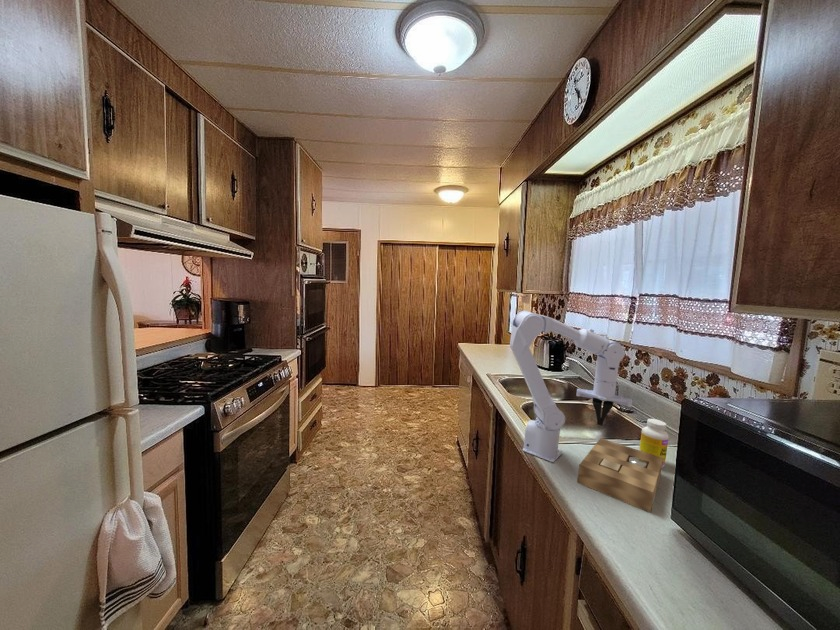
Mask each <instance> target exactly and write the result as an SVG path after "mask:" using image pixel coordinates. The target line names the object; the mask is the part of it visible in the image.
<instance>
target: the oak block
mask: <svg viewBox="0 0 840 630" xmlns="http://www.w3.org/2000/svg"><path fill="white" fill-rule="evenodd" d="M630 457H636V458H640V459H642V460H644V461H645V462H646V463H647V464H646V468H644V467H641V466H638V465H635V464H632V463H629V458H630ZM603 459H606V460H608V461H611V462H614V463H617V464H620V465H621V466H620V471H619V472H616V471H613V470H610V469H608V468H605V467H602V466H600V464H601V462H602V461H603ZM662 463H663V458H661V457H658V456H655V455H652V454H649V453H646V452H643V451H639V449H636V448H632V447H631V446H626V445H623V444H620V443H618V442H614V441H611V440H607V439H605V438H599V439H598V440H597V442H596V443H595V444H594V445H593V447H592V448H591V449H590V450H589V452H588V453H587V454H586V456H585V457H584V458H583V459H582V461H581V462H580V463H579V466H578V473H577V482H576V483H577V484H580V485H582V486H585V487H587V488H590V489H592V490H594V491H597V492H599V493H601V494H604V495H607V496H609V497H611V498H614V499H616V500H618V501H621V502H624V503H627V504H629V505H630V506H633V507H635V508H637V509H640V510H643V511H646V512H647V513H651V512H652V507H653V505H654V500H655V497H656V494H657V490H658V486H659V482H660V480H661V479H660V478H661V475H662V469H663V467H662Z"/></svg>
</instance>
